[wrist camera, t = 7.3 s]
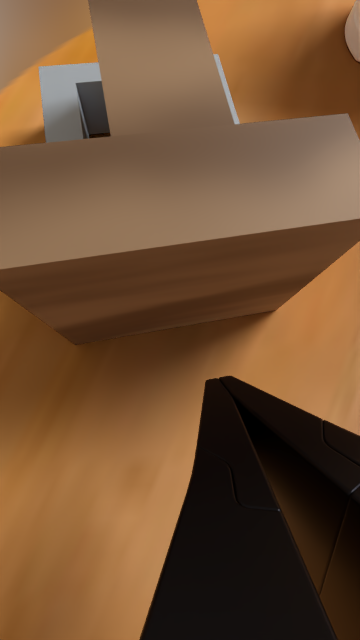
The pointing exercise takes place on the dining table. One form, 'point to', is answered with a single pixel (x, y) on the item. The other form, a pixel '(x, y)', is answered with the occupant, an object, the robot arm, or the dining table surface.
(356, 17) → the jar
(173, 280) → the tee block
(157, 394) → the dining table surface
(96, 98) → the stop bracket
